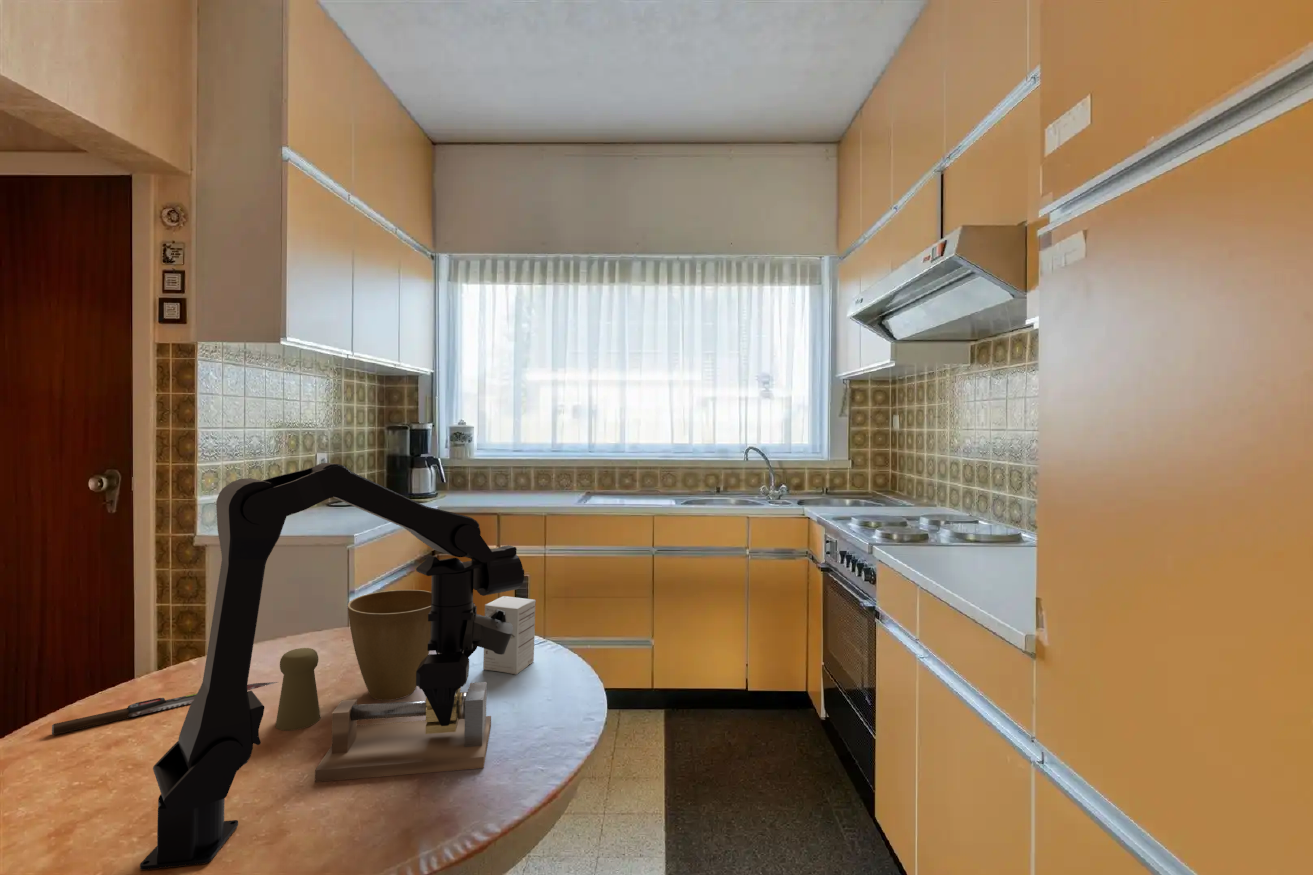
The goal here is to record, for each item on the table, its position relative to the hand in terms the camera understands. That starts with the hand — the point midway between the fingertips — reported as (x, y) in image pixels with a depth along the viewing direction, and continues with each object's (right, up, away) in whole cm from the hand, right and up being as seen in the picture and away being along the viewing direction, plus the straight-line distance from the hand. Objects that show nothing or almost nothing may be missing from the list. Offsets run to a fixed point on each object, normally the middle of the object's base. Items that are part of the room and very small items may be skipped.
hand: (450, 709), depth 86 cm
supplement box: (+1, -6, +31) cm, 31 cm away
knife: (-48, -5, +12) cm, 50 cm away
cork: (-26, -5, +7) cm, 28 cm away
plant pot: (-16, -5, +18) cm, 25 cm away
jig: (-5, -5, -1) cm, 8 cm away
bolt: (-5, -4, -1) cm, 6 cm away
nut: (-1, -2, 0) cm, 2 cm away
